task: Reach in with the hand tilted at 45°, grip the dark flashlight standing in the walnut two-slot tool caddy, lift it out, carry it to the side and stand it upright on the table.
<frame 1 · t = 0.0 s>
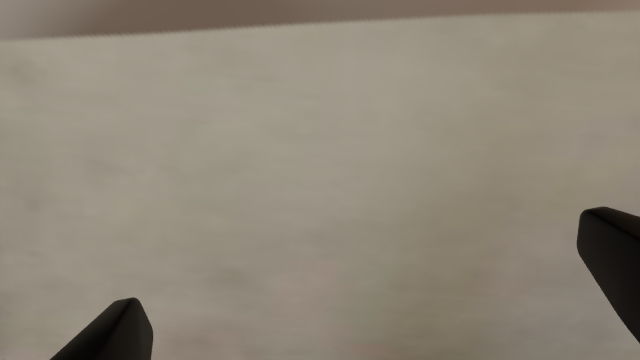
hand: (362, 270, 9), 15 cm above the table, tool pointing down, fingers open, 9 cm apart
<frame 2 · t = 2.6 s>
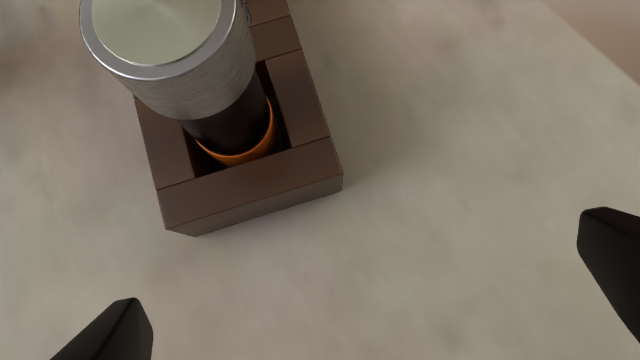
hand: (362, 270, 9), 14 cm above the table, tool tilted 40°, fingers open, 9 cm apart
tool caddy: (232, 91, 25), on the table
flashlight: (247, 142, 24), resting in tool caddy
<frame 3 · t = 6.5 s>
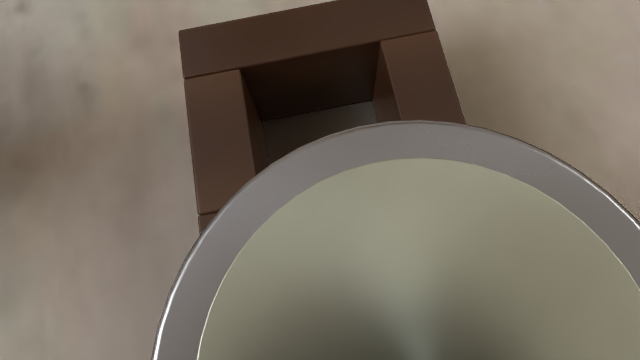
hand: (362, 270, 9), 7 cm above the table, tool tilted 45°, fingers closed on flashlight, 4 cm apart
tool caddy: (344, 242, 16), on the table
flashlight: (362, 332, 15), resting in tool caddy, touching gripper
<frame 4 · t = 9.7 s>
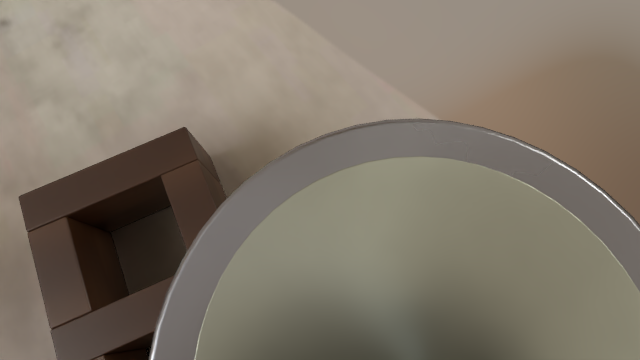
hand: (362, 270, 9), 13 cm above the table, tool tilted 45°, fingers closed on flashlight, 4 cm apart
tool caddy: (182, 311, 22), on the table
flashlight: (361, 332, 15), point 7 cm above the table, touching gripper
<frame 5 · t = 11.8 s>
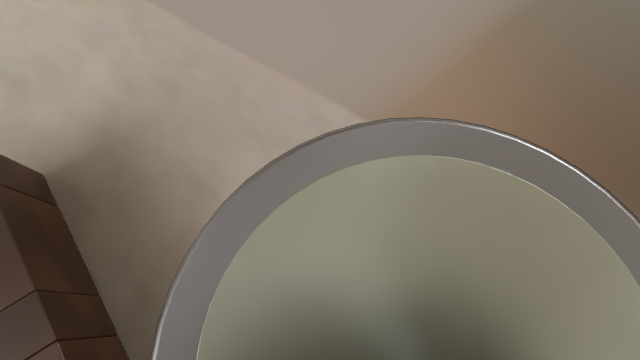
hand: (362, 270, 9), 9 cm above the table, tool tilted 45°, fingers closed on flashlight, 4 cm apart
flashlight: (362, 332, 15), point 2 cm above the table, touching gripper
when the fingers open (7 cm above the table, at t = 12.9 s): flashlight stays where it is, on the table.
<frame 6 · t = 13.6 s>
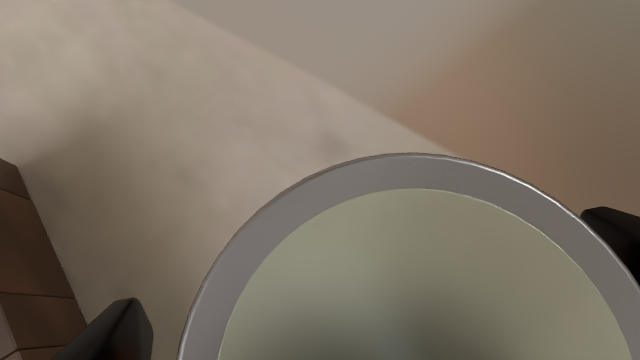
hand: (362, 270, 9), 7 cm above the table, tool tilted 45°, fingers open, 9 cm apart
flashlight: (362, 336, 16), on the table
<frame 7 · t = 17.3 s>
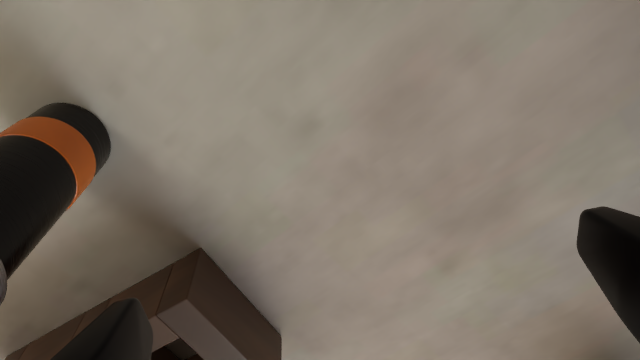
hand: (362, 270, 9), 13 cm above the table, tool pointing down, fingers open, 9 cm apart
tool caddy: (146, 346, 27), on the table
flashlight: (70, 139, 21), on the table
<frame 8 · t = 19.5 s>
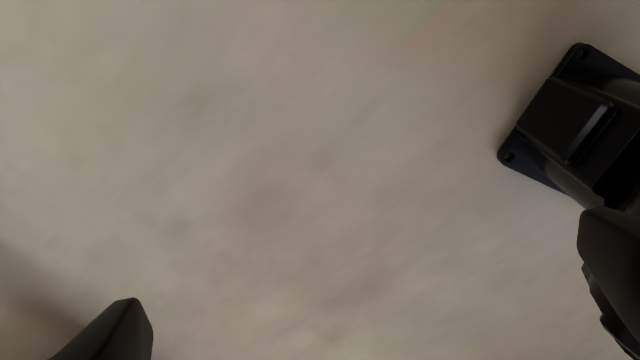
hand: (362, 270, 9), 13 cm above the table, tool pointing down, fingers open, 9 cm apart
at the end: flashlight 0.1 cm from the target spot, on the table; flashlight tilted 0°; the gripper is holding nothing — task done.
